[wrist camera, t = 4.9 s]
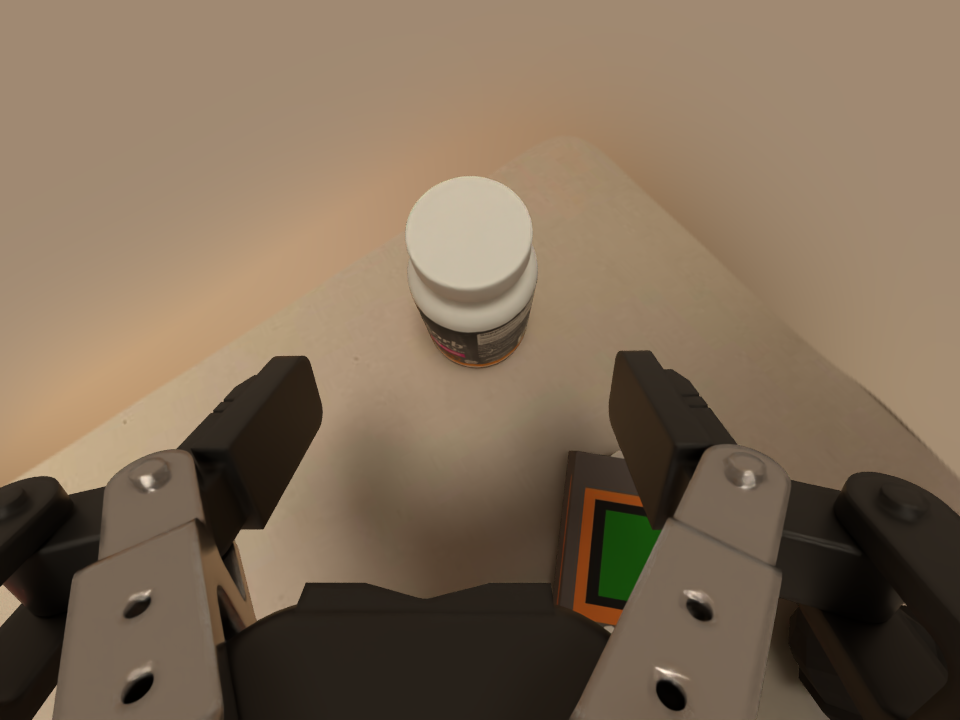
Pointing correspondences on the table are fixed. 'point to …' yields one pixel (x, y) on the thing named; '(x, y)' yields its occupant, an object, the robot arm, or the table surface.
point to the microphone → (821, 672)
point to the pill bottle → (472, 268)
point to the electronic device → (600, 538)
